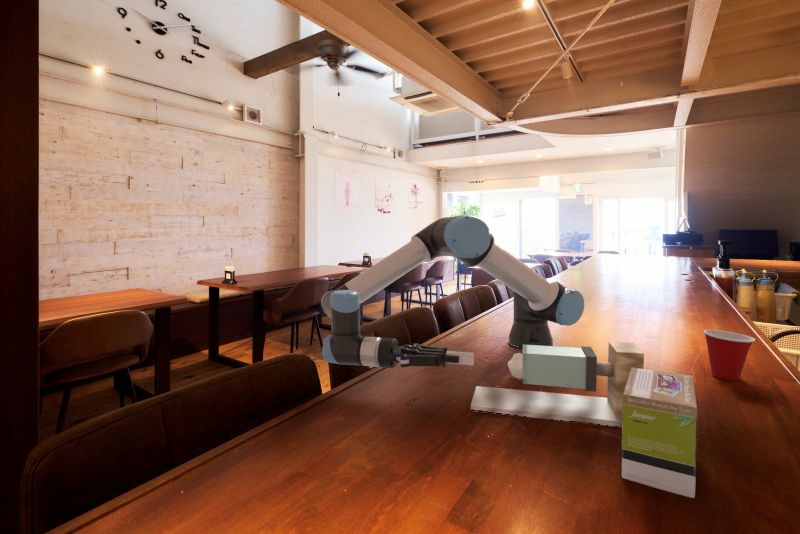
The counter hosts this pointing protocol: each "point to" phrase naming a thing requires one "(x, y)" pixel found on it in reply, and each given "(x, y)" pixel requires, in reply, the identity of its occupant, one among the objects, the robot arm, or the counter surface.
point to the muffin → (516, 365)
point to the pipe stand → (566, 404)
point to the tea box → (660, 431)
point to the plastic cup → (727, 353)
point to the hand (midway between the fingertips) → (473, 358)
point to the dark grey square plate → (590, 368)
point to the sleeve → (554, 366)
